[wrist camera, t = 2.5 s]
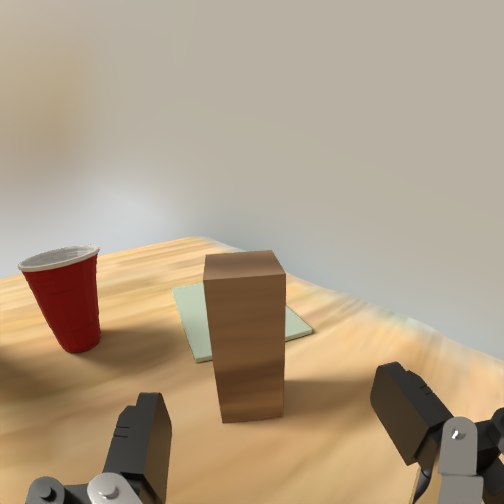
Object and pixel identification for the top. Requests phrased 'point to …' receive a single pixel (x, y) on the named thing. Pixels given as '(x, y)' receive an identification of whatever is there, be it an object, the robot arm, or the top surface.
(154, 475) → the robot arm
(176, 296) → the mat
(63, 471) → the top surface
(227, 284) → the walnut block
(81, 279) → the plastic cup
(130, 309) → the top surface
